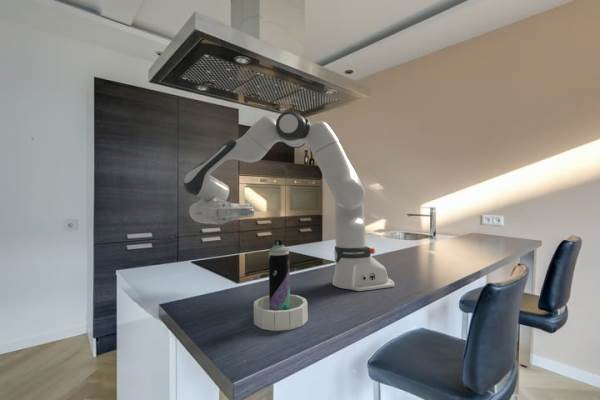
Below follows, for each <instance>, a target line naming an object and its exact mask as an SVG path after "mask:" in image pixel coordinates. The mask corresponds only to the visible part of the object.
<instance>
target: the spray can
mask: <svg viewBox="0 0 600 400" xmlns="http://www.w3.org/2000/svg"><path fill="white" fill-rule="evenodd" d="M274 241H275V242H274V244H272V247H271V248H270V249H268V296H269V305H270V310H273V311H279V310H290V294H291V287H290V283H291V281H290V275H291V274H290V251H289V248H287V247H286V246H285V245H284V244H283V242H282V239H280V240H274Z"/></svg>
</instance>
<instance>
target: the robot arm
mask: <svg viewBox="0 0 600 400" xmlns="http://www.w3.org/2000/svg"><path fill="white" fill-rule="evenodd" d="M277 143H281V144H283V145H284V146H287V147H289V148H292V149H293V148H294V149H300V148H301V147H303V146H305V145H307V146H308V148H309V149H310V152H311V153H312V156H313V158H314V159H315V162H316V164H317V166H318V168H319V169H320V172H321V173H322V176H323V179H324V180H325V182H326V184H327V187H328V188H329V190H330V193H331V195H332V196H333V199H334V201H335V202H334V203H335V205H334V206H335V207H334V208H335V210H334V211H335V212H334V213H335V225H334V226H335V227H334V228H335V246H334V261H335V265H334V267H335V268H334V274H333V278H332V279H333V280H332V282H331V283H332V285H333V286H335V287H336V288H340V289H346V290H352V291H355V292H362V291H363V292H364V291H371V290H378V289H386V288H394V287H395V282H394V280H393V279H391V278H390V277H388V272H387V269H386V267H385V265H383V264H382V263H381V262H379V261H378V260H377V259H376V258H374V257H373V256H371V255H375V254H376V251H375V248H374V247H368V246H367V245H366V218H365V198H366V189H365V188H364V185H363V183H362V181H361V180H360V177H359V176H358V174H357V172H356V171H355V169H354V167H353V165H352V163H351V162H350V159H349V158H348V156H347V154H346V152H345V150H344V148H343V146H342V144H341V142H340V141H339V138H338V136H337V135H336V133H335V132H334V131H333V129H332V128H331V126H330V125H329V124H328V123H327V122H326V121H324V120H318V121H317V120H316V121H315V122H312V123H310V120H309V119H307V118H306V117H304V116H303V115H301V114H300V113H298V112H296V111H293V110H287V111H284V112H281V114H280V115H279V116H278V117H277V119H274V118H273V117H271V116H266V115H265V116H262V117H260V119H259V120H257V121H255V123H254V124H253V125H252V126H250V128H249V129H248V130H247V131H246V132H245V133H244V135H242V136H241V137H239V138H237V139H234V140H233V139H230V140H228V141H226V142H225V143H223V144H222V145H221V146H219V147H218V148H216V150H215V151H214V152H212V153H211V154H210V155H208V157H206V158H205V159H204V160H203V161H202V162H201V163H200V164H198V165H197V166H195V167H194V168H192V169H190V171H189V172H188V173H186V175H185V176H184V178H183V186H184V189H185V191H186V192H187V193H189V194H190V195H193V196H196V197H198V198H200V199H199V201H197V202H194V203H192V204H191V205H190V207H189V211H188V212H189V213H188V214H189V216H190V218H191V219H192V220H193V221H194V222H196V223H199V224H205V225H206V224H211V225H224V224H226V223H229V222H234V221H240V219H245V218H247V219H248V218H251V217H254V216H255V207H254V206H251V205H244V204H240V203H236V202H234V203H233V202H230V199H231V190H230V187H229V185H227V184H226V183H224V182H223V181H221V180H219V179H217V178H215V177H214V175H212V173H213V172H214V171H215V170H216V169H217V168H218V167H219V166H221V165H222V164H223V163H224V162H226V161H229V160H236V161H241V162H245V163H256V162H259V161H261V160H262V159H263V158H264V157H265V156H266V155H267V153H268V152H269V151H270V150H271V149H272V147H273V146H274V145H275V144H277Z"/></svg>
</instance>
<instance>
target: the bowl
mask: <svg viewBox="0 0 600 400" xmlns="http://www.w3.org/2000/svg"><path fill="white" fill-rule="evenodd" d="M308 307H309V305H308V300H307V299H306V298H305V297H302V296H301V295H298V294H292V293H290V310H279V311H273V310H270V305H269V295H265V296H261V297H260V298H258V299H256V300H254V302H253V325H255V326H257V327H258V328H260V329H262V330H266V331H272V332H277V331H278V332H280V331H290V330H293V329H297V328H300V327H302V326H303V325H305V324H306V323H307V322H308V320H309V318H308V317H309V311H308V309H309V308H308Z"/></svg>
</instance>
